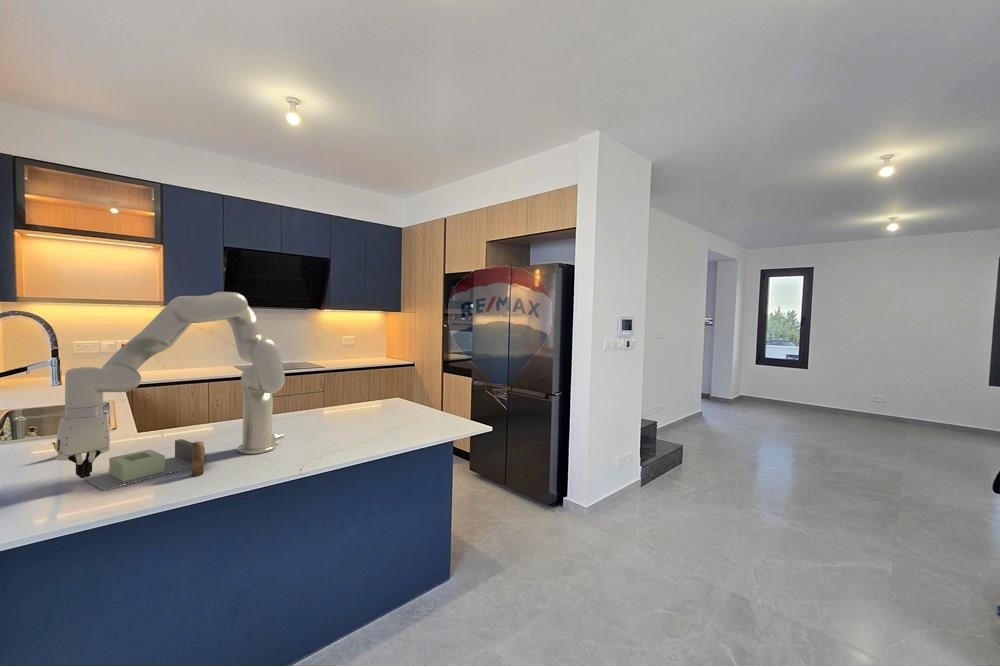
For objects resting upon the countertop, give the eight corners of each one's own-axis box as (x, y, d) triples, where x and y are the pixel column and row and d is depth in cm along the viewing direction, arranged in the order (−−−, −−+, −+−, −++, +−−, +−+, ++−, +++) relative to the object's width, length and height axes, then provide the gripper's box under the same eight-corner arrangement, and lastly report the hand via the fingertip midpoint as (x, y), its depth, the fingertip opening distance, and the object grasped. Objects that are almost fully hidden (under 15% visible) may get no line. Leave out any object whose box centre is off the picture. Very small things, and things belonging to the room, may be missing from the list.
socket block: (149, 464, 135) (149, 449, 134) (164, 471, 130) (164, 455, 130) (109, 474, 126) (109, 457, 126) (123, 481, 121) (123, 464, 121)
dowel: (200, 471, 132) (200, 440, 131) (205, 474, 130) (205, 442, 130) (189, 474, 129) (190, 443, 129) (194, 477, 128) (195, 445, 127)
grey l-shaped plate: (181, 455, 145) (181, 438, 144) (204, 465, 137) (204, 447, 137) (83, 479, 123) (83, 459, 122) (104, 491, 115) (104, 470, 115)
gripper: (113, 405, 125) (112, 465, 125) (41, 414, 112) (40, 481, 112) (124, 409, 121) (123, 471, 122) (50, 419, 108) (50, 488, 109)
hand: (83, 476), depth 117 cm, fingers closed
